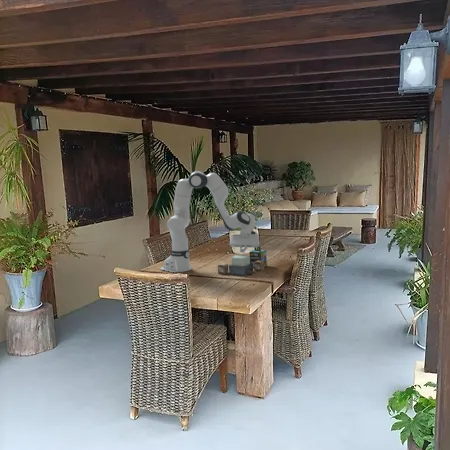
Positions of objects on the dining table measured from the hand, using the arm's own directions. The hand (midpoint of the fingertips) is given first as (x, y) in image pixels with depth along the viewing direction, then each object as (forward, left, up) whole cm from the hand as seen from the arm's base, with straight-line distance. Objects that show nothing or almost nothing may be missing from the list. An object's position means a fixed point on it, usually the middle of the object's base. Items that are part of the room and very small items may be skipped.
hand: (242, 251), depth 294 cm
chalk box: (+4, +17, -14) cm, 22 cm away
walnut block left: (-10, -8, -14) cm, 19 cm away
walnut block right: (+9, +8, -14) cm, 18 cm away
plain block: (+1, -3, -10) cm, 11 cm away
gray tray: (+1, -3, -14) cm, 14 cm away
